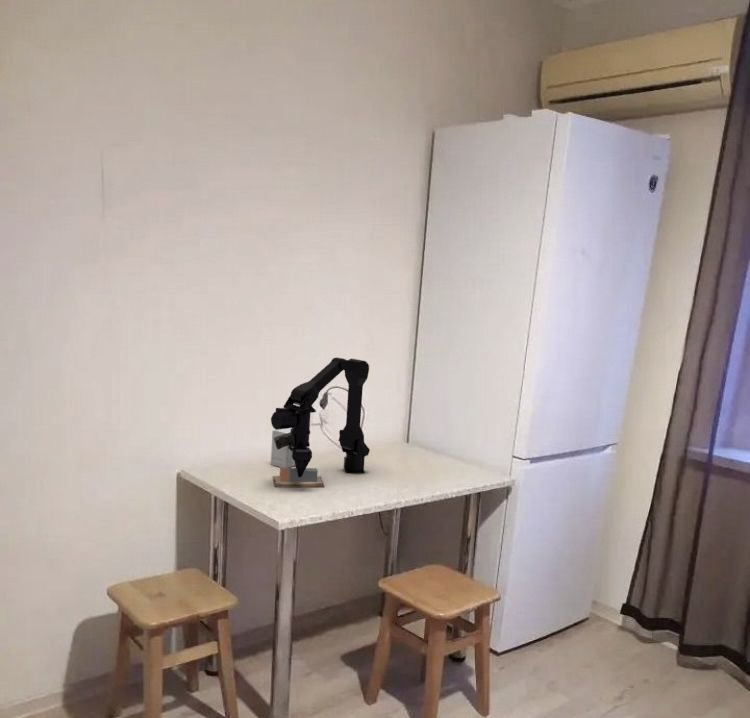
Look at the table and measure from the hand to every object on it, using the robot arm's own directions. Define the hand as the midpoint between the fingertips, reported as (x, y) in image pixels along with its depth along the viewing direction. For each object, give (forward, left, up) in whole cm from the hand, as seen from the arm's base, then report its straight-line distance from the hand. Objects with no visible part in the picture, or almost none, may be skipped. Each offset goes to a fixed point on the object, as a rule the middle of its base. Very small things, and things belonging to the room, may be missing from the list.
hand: (298, 473), depth 234 cm
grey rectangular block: (0, 0, -2) cm, 2 cm away
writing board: (0, 0, -3) cm, 3 cm away
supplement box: (+3, -21, -3) cm, 22 cm away
